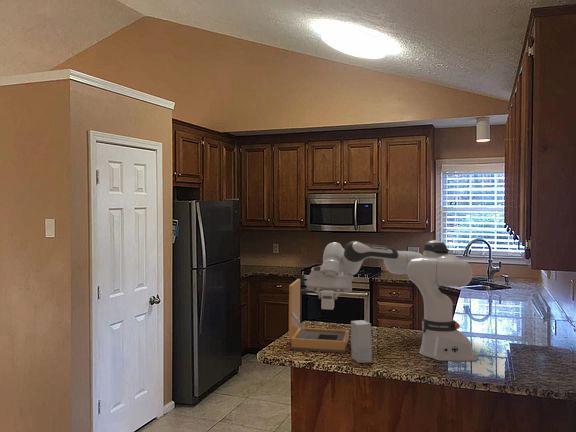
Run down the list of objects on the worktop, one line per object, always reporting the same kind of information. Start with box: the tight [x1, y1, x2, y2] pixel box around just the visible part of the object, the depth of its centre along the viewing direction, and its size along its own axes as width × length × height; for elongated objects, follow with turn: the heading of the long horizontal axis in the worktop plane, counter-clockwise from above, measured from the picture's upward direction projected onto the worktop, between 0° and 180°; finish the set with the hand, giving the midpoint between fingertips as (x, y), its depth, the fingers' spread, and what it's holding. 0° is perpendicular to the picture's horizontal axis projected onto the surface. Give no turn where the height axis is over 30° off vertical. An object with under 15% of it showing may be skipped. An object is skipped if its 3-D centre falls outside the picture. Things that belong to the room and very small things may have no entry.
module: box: [320, 290, 335, 311], centre depth 225 cm, size 5×5×8 cm
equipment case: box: [288, 278, 350, 354], centre depth 222 cm, size 23×20×26 cm
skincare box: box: [350, 319, 373, 364], centre depth 201 cm, size 8×6×15 cm
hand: (327, 298), depth 225 cm, fingers closed on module, 5 cm apart
